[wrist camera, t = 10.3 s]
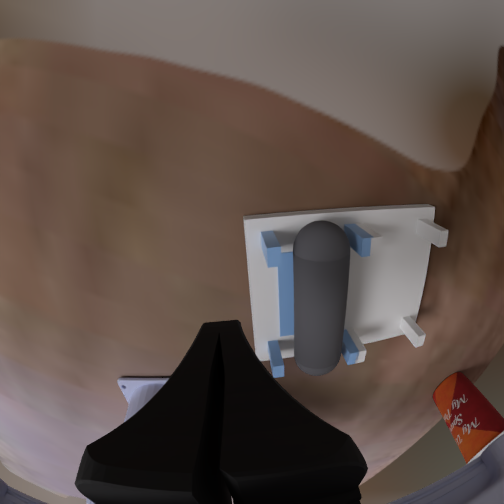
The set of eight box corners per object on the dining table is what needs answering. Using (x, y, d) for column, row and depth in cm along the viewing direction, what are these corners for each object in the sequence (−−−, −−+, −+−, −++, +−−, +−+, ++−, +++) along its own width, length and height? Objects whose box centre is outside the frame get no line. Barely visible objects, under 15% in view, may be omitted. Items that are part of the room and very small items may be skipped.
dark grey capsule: (328, 350, 23) (345, 378, 20) (288, 359, 23) (301, 389, 20) (335, 211, 19) (362, 226, 16) (284, 217, 18) (303, 234, 15)
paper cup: (433, 379, 29) (485, 456, 16) (473, 358, 29) (526, 422, 16) (421, 412, 32) (460, 481, 19) (459, 392, 32) (501, 453, 19)
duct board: (408, 326, 25) (428, 350, 21) (255, 353, 24) (260, 387, 20) (428, 203, 20) (459, 217, 17) (243, 215, 20) (247, 234, 16)
